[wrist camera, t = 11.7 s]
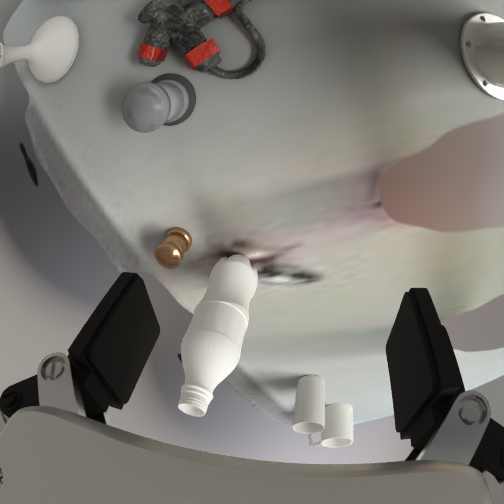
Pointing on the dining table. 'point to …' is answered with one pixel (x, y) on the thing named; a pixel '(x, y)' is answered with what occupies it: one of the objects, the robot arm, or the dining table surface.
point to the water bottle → (216, 332)
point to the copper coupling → (173, 248)
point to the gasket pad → (190, 90)
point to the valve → (193, 34)
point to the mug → (309, 405)
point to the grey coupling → (154, 104)
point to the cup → (336, 426)
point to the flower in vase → (47, 50)
